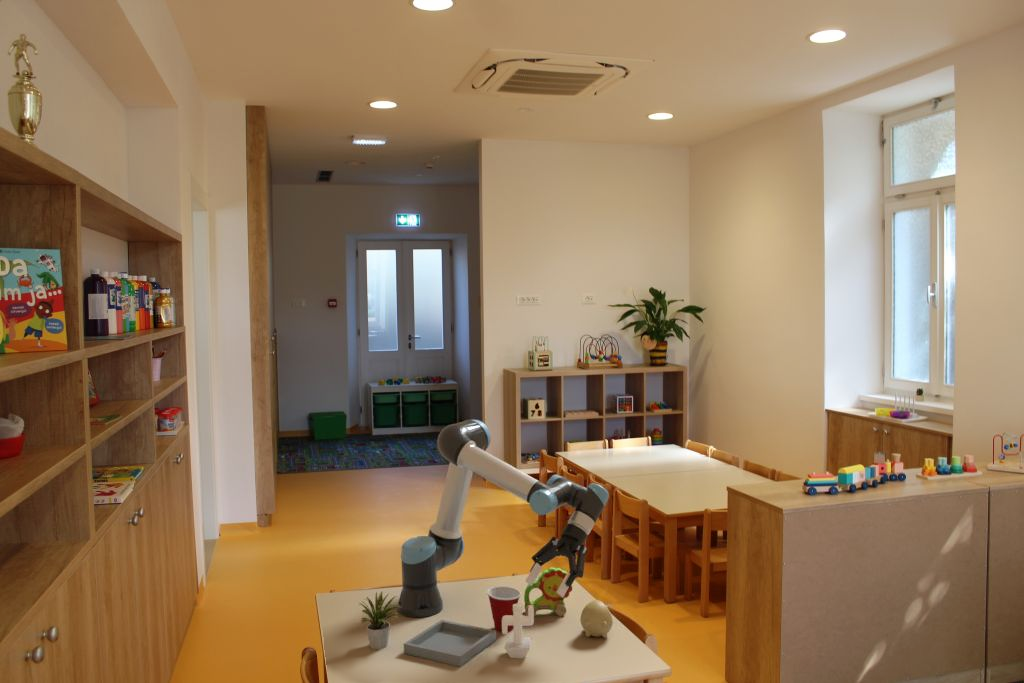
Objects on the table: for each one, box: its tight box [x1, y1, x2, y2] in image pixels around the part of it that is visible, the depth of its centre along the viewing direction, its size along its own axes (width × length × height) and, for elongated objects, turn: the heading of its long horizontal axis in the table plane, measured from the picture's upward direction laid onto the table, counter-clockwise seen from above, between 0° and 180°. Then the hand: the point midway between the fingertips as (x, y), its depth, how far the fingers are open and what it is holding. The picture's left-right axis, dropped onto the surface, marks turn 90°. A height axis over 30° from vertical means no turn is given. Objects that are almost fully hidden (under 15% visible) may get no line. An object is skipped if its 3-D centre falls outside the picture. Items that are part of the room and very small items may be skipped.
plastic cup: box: [486, 585, 522, 633], centre depth 256 cm, size 11×11×12 cm
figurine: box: [501, 603, 535, 659], centre depth 236 cm, size 7×9×15 cm
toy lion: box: [523, 566, 573, 617], centre depth 267 cm, size 16×5×15 cm, turn 92°
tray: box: [403, 619, 497, 668], centre depth 243 cm, size 20×20×3 cm
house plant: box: [359, 591, 399, 650], centre depth 244 cm, size 14×14×16 cm
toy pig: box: [579, 599, 614, 639], centre depth 249 cm, size 10×12×11 cm
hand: (543, 589), depth 243 cm, fingers open, 13 cm apart
